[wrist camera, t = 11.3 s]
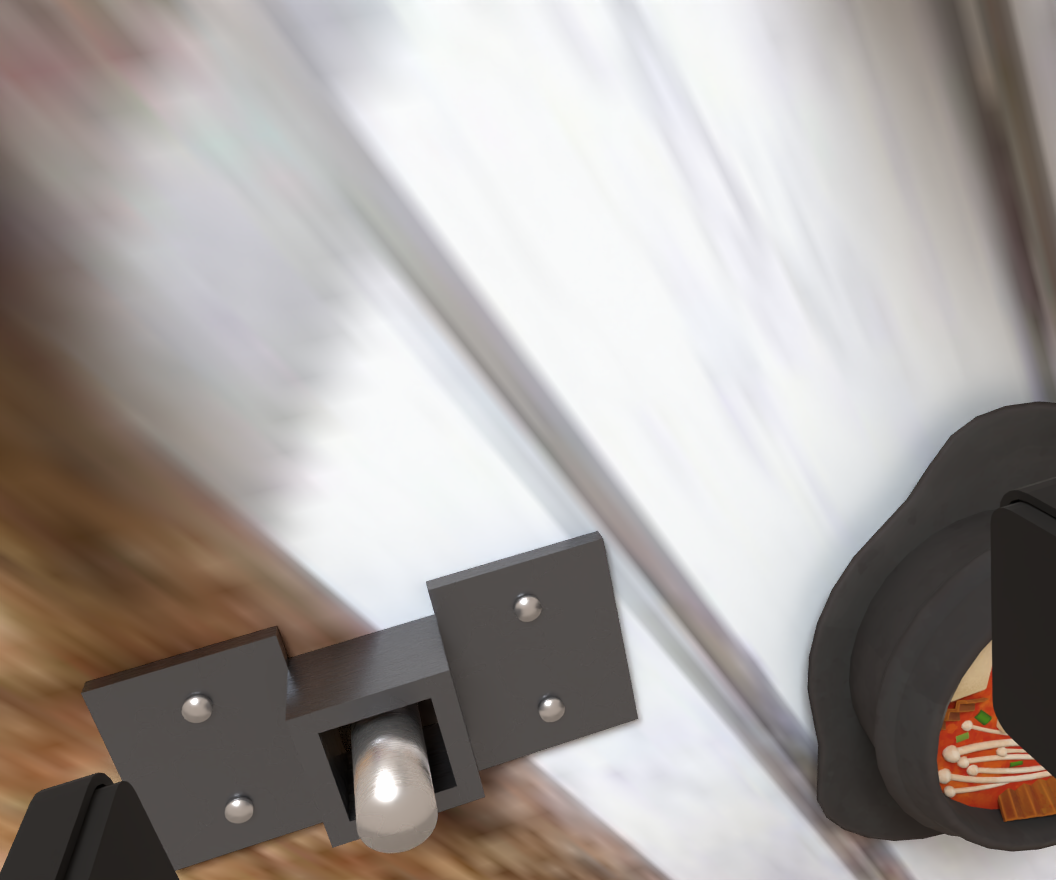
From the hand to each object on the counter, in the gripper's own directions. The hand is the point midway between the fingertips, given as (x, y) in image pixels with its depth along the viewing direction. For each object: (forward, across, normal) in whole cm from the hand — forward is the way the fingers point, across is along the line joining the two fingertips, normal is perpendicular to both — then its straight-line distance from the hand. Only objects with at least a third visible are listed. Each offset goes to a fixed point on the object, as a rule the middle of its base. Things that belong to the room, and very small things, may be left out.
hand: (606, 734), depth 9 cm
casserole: (+28, -23, +24) cm, 44 cm away
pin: (+27, +6, +18) cm, 33 cm away
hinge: (+27, +6, +18) cm, 33 cm away
